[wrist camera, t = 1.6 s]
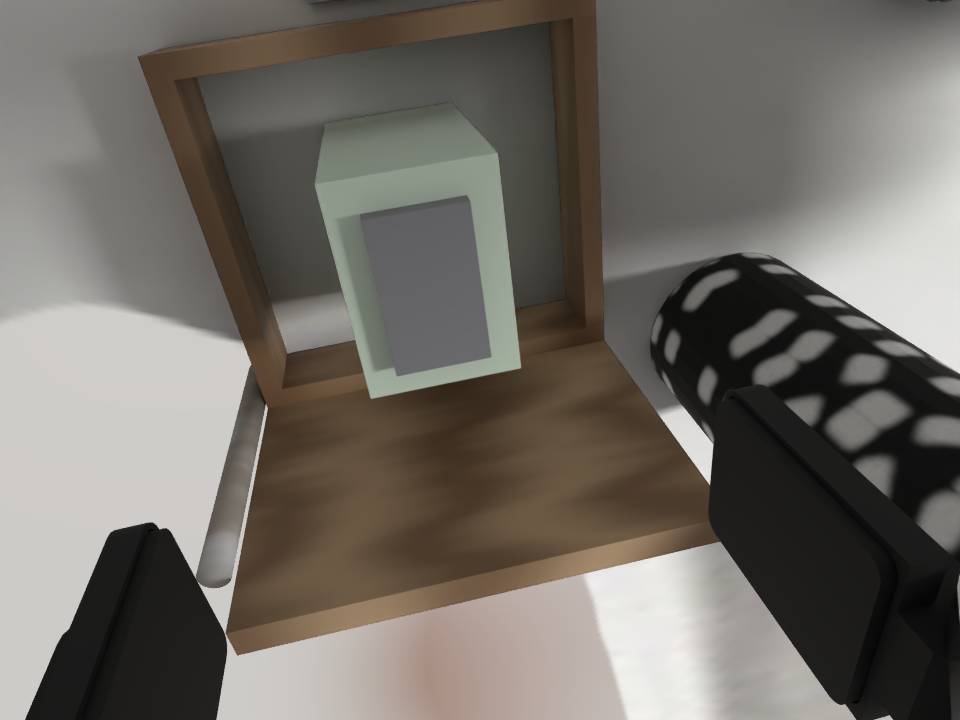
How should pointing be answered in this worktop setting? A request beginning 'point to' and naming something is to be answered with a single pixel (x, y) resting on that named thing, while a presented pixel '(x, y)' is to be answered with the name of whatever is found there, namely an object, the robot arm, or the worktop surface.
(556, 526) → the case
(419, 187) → the module
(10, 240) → the worktop surface
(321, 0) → the mat
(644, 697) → the worktop surface
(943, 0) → the dark blue pouch
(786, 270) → the white-spotted black cylinder
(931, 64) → the worktop surface
